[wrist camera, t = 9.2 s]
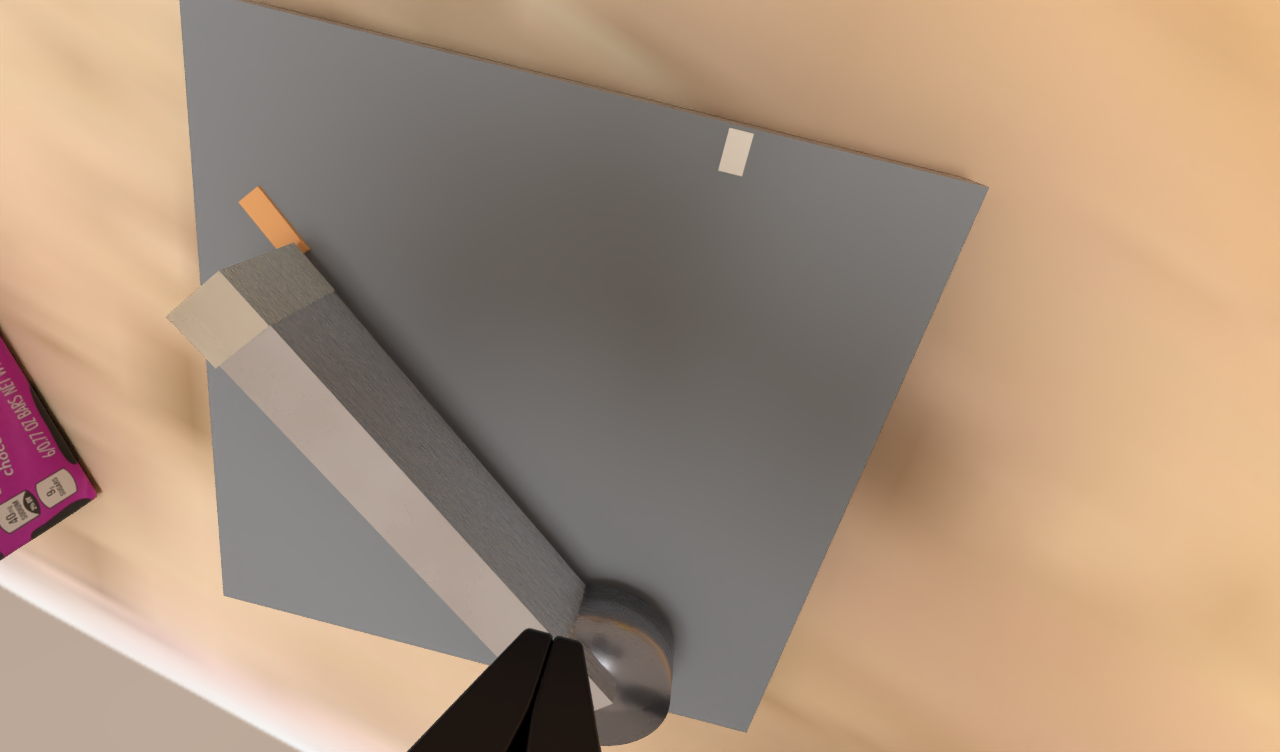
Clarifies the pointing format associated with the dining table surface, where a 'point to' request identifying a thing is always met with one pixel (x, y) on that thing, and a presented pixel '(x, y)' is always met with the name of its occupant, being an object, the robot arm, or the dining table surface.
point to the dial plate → (564, 325)
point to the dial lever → (420, 480)
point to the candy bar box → (32, 464)
